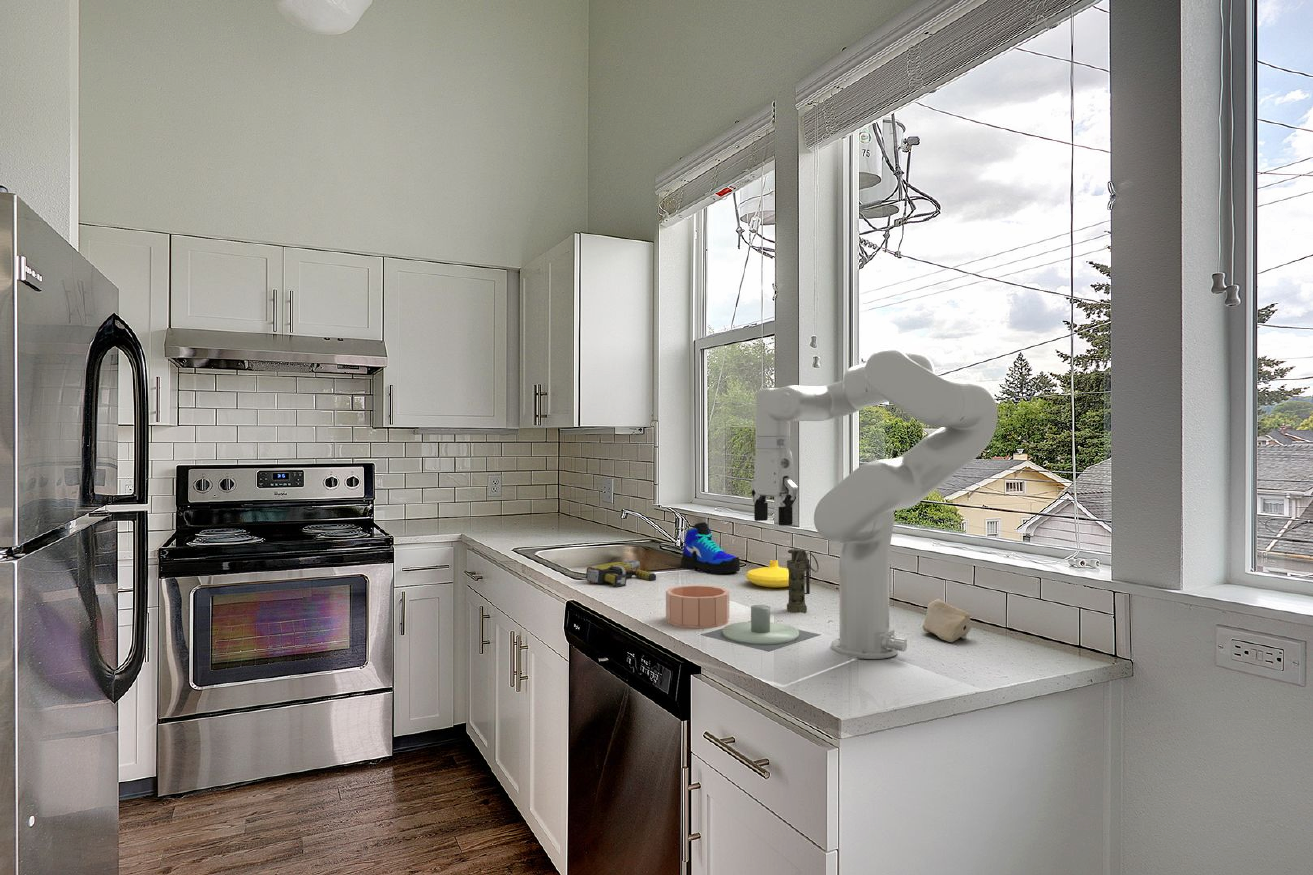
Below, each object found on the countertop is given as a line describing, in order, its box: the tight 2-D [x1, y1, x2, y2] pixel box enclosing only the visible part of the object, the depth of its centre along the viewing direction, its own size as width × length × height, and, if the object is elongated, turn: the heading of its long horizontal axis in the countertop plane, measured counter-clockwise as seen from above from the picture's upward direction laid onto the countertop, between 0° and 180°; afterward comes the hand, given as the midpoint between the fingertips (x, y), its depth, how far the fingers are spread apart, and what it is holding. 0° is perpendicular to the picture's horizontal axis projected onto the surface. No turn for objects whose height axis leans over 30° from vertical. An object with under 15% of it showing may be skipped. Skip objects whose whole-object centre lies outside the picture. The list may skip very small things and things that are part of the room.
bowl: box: [665, 584, 730, 629], centre depth 177 cm, size 14×14×7 cm
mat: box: [699, 620, 822, 652], centre depth 165 cm, size 18×18×1 cm
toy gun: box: [585, 559, 657, 588], centre depth 229 cm, size 5×24×15 cm
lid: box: [723, 604, 799, 645], centre depth 164 cm, size 16×16×6 cm
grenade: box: [786, 548, 819, 614], centre depth 187 cm, size 9×6×15 cm, turn 118°
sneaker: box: [680, 521, 741, 575], centre depth 245 cm, size 9×24×15 cm, turn 37°
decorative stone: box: [922, 598, 972, 643], centre depth 165 cm, size 7×13×7 cm, turn 20°
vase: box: [745, 559, 789, 589], centre depth 220 cm, size 16×16×7 cm
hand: (772, 522), depth 171 cm, fingers open, 9 cm apart
